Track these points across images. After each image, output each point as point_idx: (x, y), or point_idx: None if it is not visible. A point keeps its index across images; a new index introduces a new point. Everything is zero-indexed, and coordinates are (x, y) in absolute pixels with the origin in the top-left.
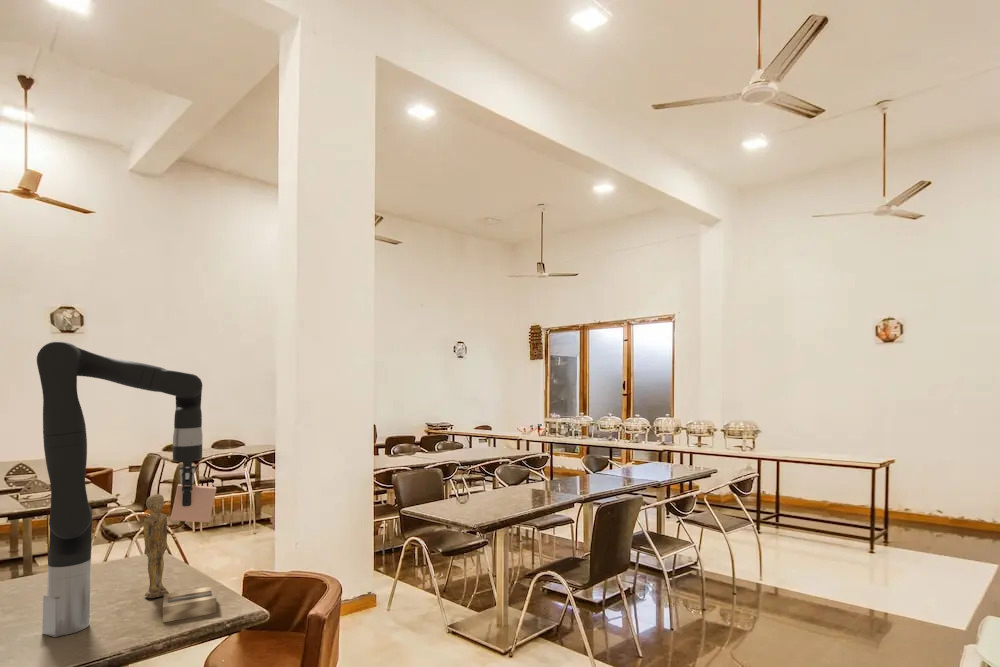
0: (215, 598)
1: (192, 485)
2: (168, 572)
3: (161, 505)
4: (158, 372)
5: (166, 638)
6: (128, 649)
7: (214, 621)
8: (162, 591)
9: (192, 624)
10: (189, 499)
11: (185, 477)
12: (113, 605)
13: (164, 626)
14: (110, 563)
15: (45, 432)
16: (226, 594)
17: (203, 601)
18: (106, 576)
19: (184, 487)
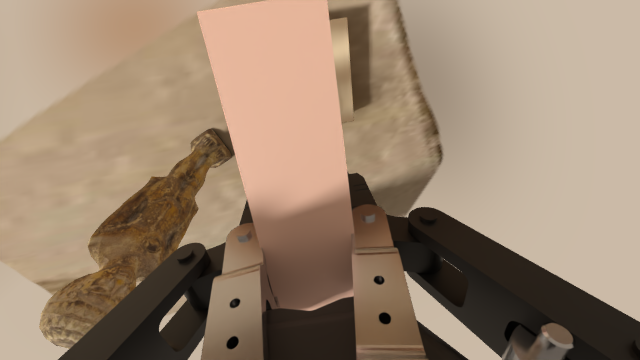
0: (346, 19)
1: (271, 240)
2: (59, 156)
3: (106, 282)
4: None
5: (421, 94)
6: (432, 139)
7: (387, 17)
8: (215, 142)
9: (381, 60)
10: (366, 187)
11: (503, 356)
12: (242, 199)
13: (368, 107)
14: (9, 258)
15: None
16: (230, 4)
17: (348, 46)
18: None
19: (439, 270)
